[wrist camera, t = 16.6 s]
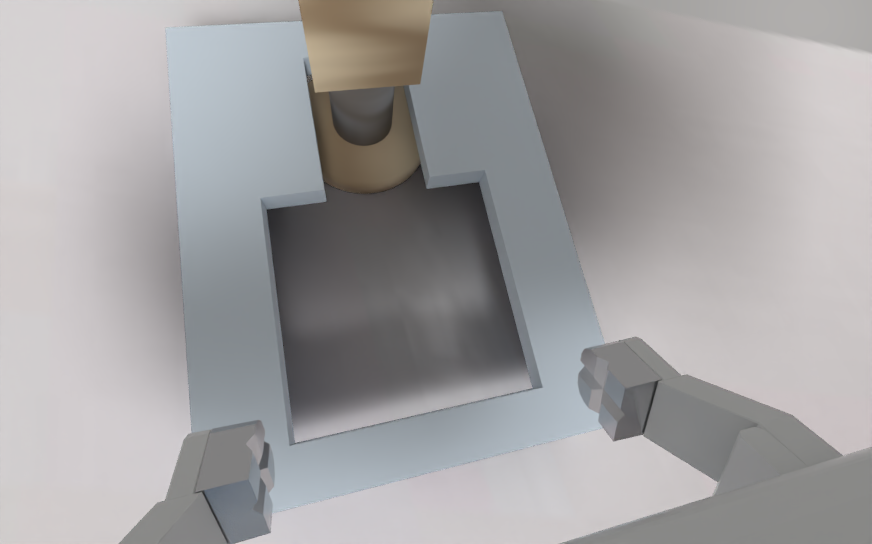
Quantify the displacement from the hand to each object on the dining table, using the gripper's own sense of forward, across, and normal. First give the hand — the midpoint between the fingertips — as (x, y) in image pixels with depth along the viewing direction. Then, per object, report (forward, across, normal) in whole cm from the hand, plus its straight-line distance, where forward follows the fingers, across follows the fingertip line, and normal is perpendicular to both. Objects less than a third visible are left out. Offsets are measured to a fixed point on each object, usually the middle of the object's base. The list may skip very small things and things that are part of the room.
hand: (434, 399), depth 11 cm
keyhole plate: (+10, 0, 0) cm, 10 cm away
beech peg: (+14, 0, -4) cm, 14 cm away
